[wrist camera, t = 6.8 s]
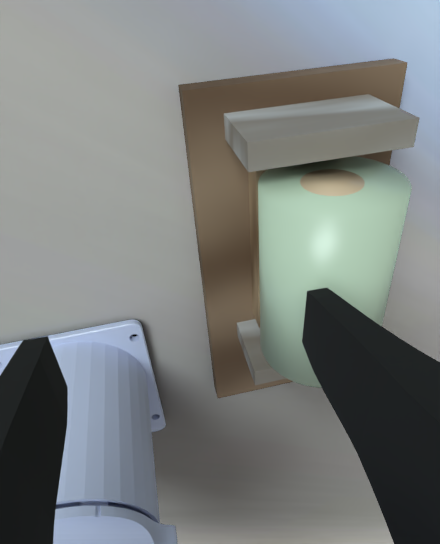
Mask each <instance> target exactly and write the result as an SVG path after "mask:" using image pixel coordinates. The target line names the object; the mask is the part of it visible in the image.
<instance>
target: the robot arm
mask: <svg viewBox="0 0 440 544" xmlns="http://www.w3.org/2000/svg"><path fill="white" fill-rule="evenodd" d="M133 334H137V336H131V335H133ZM302 343H303V346H304V349H305V351H306V354H307V357H308V359H309V362H310V364H311V366H312V369H313V371H314V374H315V375H316V377H317V379H318V381H319V383H320V385H321V387H322V388H323V390H324V392H325V394H326V396H327V398H328V399H329V401H330V403H331V405H332V407H333V409H334V410H335V412H336V414H337V416H338V418H339V419H340V421H341V423H342V425H343V427H344V428H345V430H346V432H347V434H348V436H349V438H350V439H351V441H352V443H353V445H354V447H355V449H356V451H357V453H358V456H359V458H360V460H361V463H362V465H363V467H364V470H365V472H366V474H367V477H368V479H369V481H370V484H371V486H372V488H373V491H374V493H375V496H376V498H377V501H378V503H379V506H380V508H381V511H382V513H383V516H384V518H385V521H386V523H387V526H388V528H389V531H390V534H391V536H392V539H393V542H394V544H440V362H438V361H436V360H435V359H433V358H431V357H429V356H428V355H426V354H424V353H422V352H421V351H419V350H417V349H416V348H414V347H413V346H411V345H409V344H408V343H406V342H404V341H403V340H401V339H400V338H398V337H397V336H395V335H394V334H392V333H390V332H389V331H388V330H386V329H385V328H383V327H382V326H380V325H379V324H377V323H376V322H374V321H373V320H372V319H370V318H369V317H367V316H366V315H364V314H363V313H362V312H360V311H359V310H358V309H356V308H355V307H353V306H352V305H351V304H349V303H348V302H347V301H345V300H344V299H342V298H341V297H340V296H338V295H337V294H336V293H334V292H333V291H331V290H330V289H328V288H321V289H315V290H310V291H307V296H306V307H305V317H304V327H303V337H302ZM165 426H166V422H165V417H164V413H163V409H162V405H161V401H160V397H159V393H158V389H157V385H156V381H155V377H154V373H153V368H152V364H151V360H150V356H149V352H148V348H147V344H146V340H145V336H144V332H143V328H142V324H141V322H139V321H138V320H126V321H121V322H116V323H111V324H106V325H100V326H95V327H90V328H85V329H80V330H75V331H69V332H64V333H59V334H54V335H49V336H43V337H38V338H33V339H28V340H23V341H18V342H12V343H7V344H2V345H0V544H178V543H177V534H176V527H175V526H174V525H165V524H160V518H159V507H158V496H157V485H156V474H155V463H154V452H153V441H152V432H155V431H159V430H162V429H163V428H164V427H165Z"/></svg>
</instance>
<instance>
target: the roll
mask: <svg viewBox="0 0 440 544" xmlns="http://www.w3.org/2000/svg"><path fill="white" fill-rule="evenodd" d="M410 194H411V184H410V181H409V180H408V178H407V177H406V176H405V175H404V174H403V173H401V172H400V171H399V170H397V169H395V168H393V167H391V166H389V165H387V164H384V163H381V162H378V161H375V160H371V159H367V158H362V157H356V156H351V157H345V158H338V159H332V160H325V161H319V162H312V163H306V164H299V165H293V166H286V167H280V168H273V169H267V170H266V171H265V172H264V173H263V174H262V175H261V176H260V178H259V181H258V221H259V282H260V343H261V350H262V353H263V355H264V357H265V359H266V361H267V362H268V363H269V365H270V366H271V367H272V368H273V369H274V370H275V371H277V372H278V373H279V374H281V375H282V376H284V377H285V378H287V379H289V380H291V381H293V382H296V383H299V384H302V385H306V386H310V387H318V388H322V387H321V385H320V383H319V381H318V379H317V377H316V375H315V374H314V371H313V369H312V366H311V364H310V362H309V359H308V357H307V354H306V351H305V349H304V346H303V343H302V337H303V327H304V317H305V307H306V296H307V291H310V290H315V289H321V288H328V289H330V290H331V291H333V292H334V293H336V294H337V295H338V296H340V297H341V298H342V299H344V300H345V301H347V302H348V303H349V304H351V305H352V306H353V307H355V308H356V309H358V310H359V311H360V312H362V313H363V314H364V315H366V316H367V317H369V318H370V319H372V320H373V321H374V322H376V323H377V324H379V325H380V326H382V323H383V318H384V314H385V309H386V305H387V300H388V295H389V291H390V286H391V282H392V277H393V272H394V268H395V263H396V259H397V254H398V249H399V245H400V240H401V236H402V231H403V227H404V222H405V217H406V213H407V208H408V204H409V199H410Z"/></svg>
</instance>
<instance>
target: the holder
mask: <svg viewBox="0 0 440 544" xmlns="http://www.w3.org/2000/svg"><path fill="white" fill-rule="evenodd" d="M406 68H407V62H404V61H400V60H397V59H386V60H378V61H370V62H362V63H353V64H345V65H337V66H329V67H321V68H313V69H305V70H297V71H288V72H280V73H272V74H264V75H256V76H248V77H240V78H232V79H224V80H215V81H207V82H199V83H191V84H183V85H179V93H180V102H181V110H182V118H183V127H184V135H185V143H186V152H187V160H188V168H189V177H190V185H191V193H192V202H193V210H194V218H195V227H196V235H197V243H198V252H199V260H200V268H201V277H202V285H203V293H204V302H205V310H206V318H207V327H208V335H209V343H210V352H211V360H212V369H213V377H214V385H215V389H216V393H217V397H218V398H222V397H226V396H231V395H235V394H240V393H244V392H249V391H253V390H258V389H262V388H267V387H271V386H276V385H280V384H285V383H289V382H293V381H291V380H289V379H287V378H285V377H284V376H282V375H281V374H279V373H278V372H277V371H275V370H274V369H273V368H272V367H271V366H270V365H269V363H268V362H267V361H266V359H265V357H264V355H263V353H262V350H261V343H260V282H259V221H258V181H259V178H260V176H261V175H262V174H263V173H264V172H265V171H266V170H267V169H273V168H280V167H286V166H293V165H299V164H306V163H312V162H319V161H325V160H332V159H338V158H345V157H351V156H356V157H362V158H367V159H371V160H375V161H378V162H381V163H384V164H387V165H389V164H390V158H391V153H392V150H397V149H404V148H410V147H414V142H415V137H416V132H417V127H418V123H419V117H416V116H414V115H412V114H410V113H408V112H406V111H404V110H401V109H399V107H400V102H401V96H402V90H403V85H404V79H405V73H406Z"/></svg>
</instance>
